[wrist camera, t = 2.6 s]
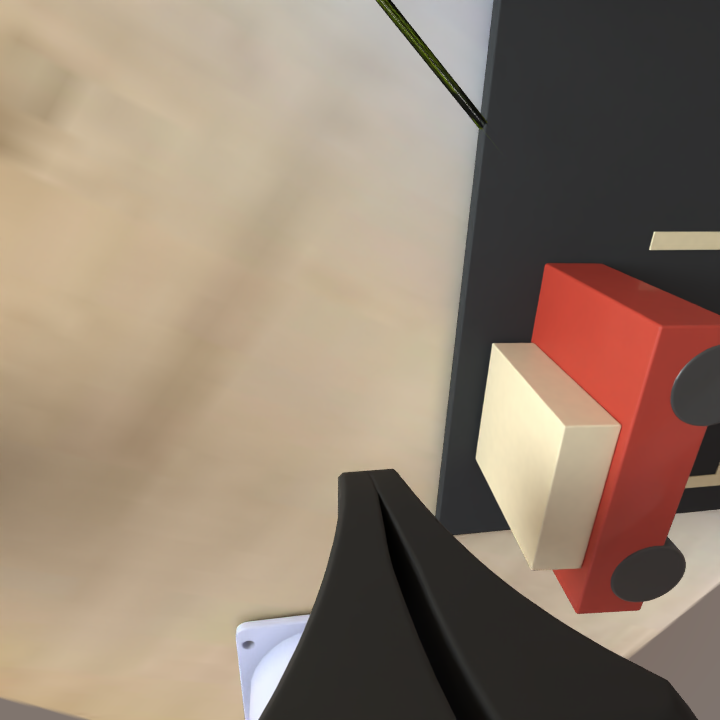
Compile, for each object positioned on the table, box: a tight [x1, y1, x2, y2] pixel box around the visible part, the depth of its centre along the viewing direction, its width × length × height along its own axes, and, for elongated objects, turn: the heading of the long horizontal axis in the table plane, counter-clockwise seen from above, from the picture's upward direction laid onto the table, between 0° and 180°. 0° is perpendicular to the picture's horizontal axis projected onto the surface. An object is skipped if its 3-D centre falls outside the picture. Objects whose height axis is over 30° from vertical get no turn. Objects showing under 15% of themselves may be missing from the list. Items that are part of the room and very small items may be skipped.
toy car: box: [476, 263, 720, 614], centre depth 15 cm, size 9×4×6 cm, turn 178°
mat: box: [435, 0, 720, 535], centre depth 18 cm, size 20×15×1 cm
